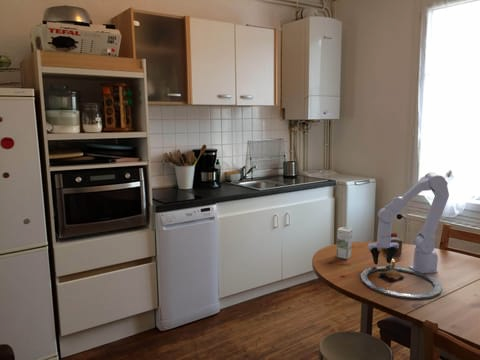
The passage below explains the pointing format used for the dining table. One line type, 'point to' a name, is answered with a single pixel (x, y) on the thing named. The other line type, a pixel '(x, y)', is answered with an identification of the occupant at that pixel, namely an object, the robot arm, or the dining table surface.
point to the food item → (396, 240)
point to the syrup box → (344, 243)
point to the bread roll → (391, 276)
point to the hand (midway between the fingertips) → (382, 263)
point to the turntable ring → (430, 294)
